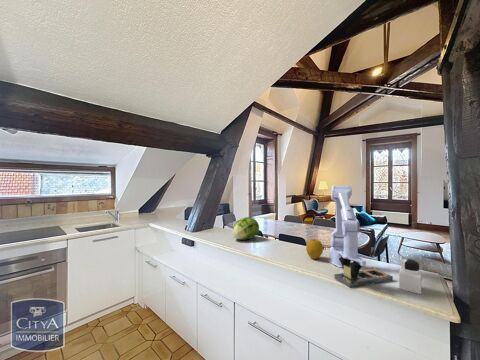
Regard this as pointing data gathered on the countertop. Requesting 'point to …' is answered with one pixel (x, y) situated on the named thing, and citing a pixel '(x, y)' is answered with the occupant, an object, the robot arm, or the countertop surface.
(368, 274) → the grey rectangular frame
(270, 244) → the countertop surface
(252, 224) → the lettuce
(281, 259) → the countertop surface
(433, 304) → the countertop surface
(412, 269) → the medicine bottle
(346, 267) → the tan rectangular block
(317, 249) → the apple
